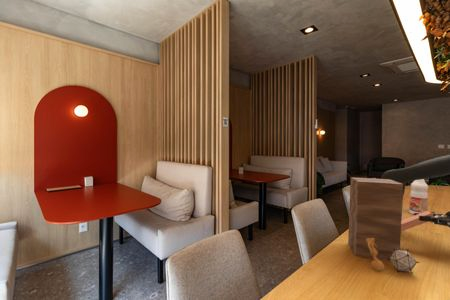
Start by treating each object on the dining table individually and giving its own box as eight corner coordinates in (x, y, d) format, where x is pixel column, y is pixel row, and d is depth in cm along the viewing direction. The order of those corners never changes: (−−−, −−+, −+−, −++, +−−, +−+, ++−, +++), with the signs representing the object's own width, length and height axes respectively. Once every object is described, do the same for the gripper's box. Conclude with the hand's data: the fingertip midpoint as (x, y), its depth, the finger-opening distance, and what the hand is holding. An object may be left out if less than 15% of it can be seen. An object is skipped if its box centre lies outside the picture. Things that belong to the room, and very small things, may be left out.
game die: (395, 279, 86) (377, 254, 89) (408, 267, 89) (390, 243, 92) (417, 280, 78) (396, 252, 81) (430, 267, 81) (409, 241, 84)
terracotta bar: (382, 234, 109) (378, 228, 109) (430, 216, 104) (426, 210, 104) (385, 237, 106) (381, 231, 106) (435, 219, 100) (431, 212, 101)
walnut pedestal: (348, 243, 107) (350, 177, 106) (386, 248, 103) (389, 179, 102) (355, 256, 96) (358, 181, 94) (399, 261, 91) (403, 184, 90)
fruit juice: (429, 217, 148) (431, 175, 147) (411, 214, 152) (413, 174, 151) (424, 213, 156) (426, 173, 155) (407, 211, 161) (409, 172, 160)
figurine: (381, 277, 81) (383, 244, 80) (362, 270, 85) (363, 239, 85) (385, 268, 87) (387, 237, 86) (367, 262, 91) (368, 233, 91)
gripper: (451, 208, 106) (409, 204, 110) (476, 217, 92) (426, 213, 97) (450, 223, 106) (408, 219, 110) (475, 235, 92) (425, 230, 97)
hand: (417, 216), depth 103 cm, fingers closed on terracotta bar, 3 cm apart
